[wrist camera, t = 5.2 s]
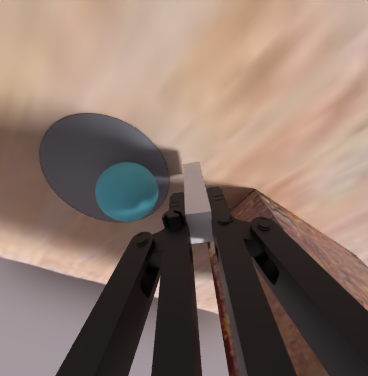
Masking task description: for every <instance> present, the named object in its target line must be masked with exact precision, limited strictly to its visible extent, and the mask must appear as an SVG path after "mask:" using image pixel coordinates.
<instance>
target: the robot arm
mask: <svg viewBox="0 0 368 376" xmlns="http://www.w3.org/2000/svg"><path fill="white" fill-rule="evenodd" d="M183 175H184V192H181V193H174V194H172V196H171V197H170V204H169V211H167V212H165V214H164V215H163V216H162V221H163V224H164V227H165V228H164V229H163V230H162V231H160V232H158V233H155V234H153V235H152V234H151V233H149V232H141V233H138V234H137V235H135V236H134V237H133V238H132V240H131V241H130V243H129V245H128V247H127V249H126V250H125V252H124V254H123V256H122V258H121V259H120V261H119V263H118V265H117V267H116V268H115V270H114V272H113V274H112V275H111V277H110V279H109V281H108V283H107V284H106V286H105V288H104V290H103V292H102V293H101V295H100V297H99V299H98V301H97V302H96V304H95V306H94V308H93V309H92V311H91V313H90V315H89V317H88V319H87V320H86V322H85V324H84V326H83V328H82V329H81V331H80V333H79V335H78V337H77V338H76V340H75V342H74V344H73V345H72V347H71V349H70V351H69V353H68V354H67V356H66V358H65V360H64V361H63V363H62V365H61V367H60V369H59V370H58V372H57V374H56V376H128V374H129V371H130V368H131V365H132V362H133V359H134V356H135V352H136V350H137V347H138V344H139V340H140V337H141V334H142V331H143V328H144V325H145V321H146V319H147V315H148V312H149V309H150V306H151V303H152V300H153V297H154V294H155V291H156V288H157V284H158V281H159V278H160V287H159V298H158V309H157V320H156V331H155V341H154V352H153V364H152V374H151V376H202V369H201V356H200V342H199V330H198V317H197V304H196V291H195V279H194V266H193V253H192V247H191V244H195V243H204V242H212V241H214V245H215V256H216V257H217V262H218V267H219V272H220V277H221V282H222V287H223V291H224V296H225V301H226V306H227V311H228V316H229V321H230V326H231V331H232V336H233V340H234V345H235V350H236V355H237V360H238V365H239V370H240V375H241V376H297V374H296V372H295V369H294V366H293V364H292V361H291V359H290V356H289V354H288V351H287V349H286V346H285V344H284V341H283V339H282V336H281V333H280V331H279V328H278V326H277V323H276V321H275V318H274V316H273V313H272V311H271V308H270V306H269V303H268V300H267V298H266V295H265V293H264V290H263V288H262V285H261V283H260V280H259V278H258V275H257V273H256V270H255V268H254V265H255V267H256V268H257V270H258V271H259V273H260V274H261V276H262V277H263V279H264V280H265V282H266V283H267V284H268V286H269V287H270V289H271V290H272V292H273V293H274V295H275V296H276V298H277V299H278V301H279V302H280V304H281V305H282V307H283V308H284V310H285V311H286V313H287V314H288V316H289V317H290V318H291V320H292V321H293V323H294V324H295V326H296V327H297V329H298V330H299V332H300V333H301V335H302V336H303V338H304V339H305V341H306V342H307V344H308V345H309V347H310V348H311V350H312V351H313V352H314V354H315V355H316V357H317V358H318V360H319V361H320V363H321V364H322V366H323V367H324V369H325V370H326V372H327V373H328V375H329V376H368V311H367V310H366V309H365V308H364V307H363V306H362V305H361V304H360V303H359V302H358V301H357V300H356V299H355V298H354V297H353V296H352V295H351V294H350V293H349V292H348V291H347V290H345V289H344V288H343V287H342V286H341V285H340V284H339V283H338V282H337V281H336V280H335V279H334V278H333V277H332V276H331V275H330V274H329V273H328V272H327V271H326V270H325V269H324V268H322V267H321V266H320V265H319V264H318V263H317V262H316V261H315V260H314V259H313V258H312V257H311V256H310V255H309V254H308V253H307V252H306V251H305V250H304V249H303V248H302V247H301V246H300V245H298V244H297V243H296V242H295V241H294V240H293V239H292V238H291V237H290V236H289V235H288V234H287V233H286V232H285V231H284V230H283V229H282V228H281V227H280V226H279V225H278V224H277V223H275V222H274V221H273V220H272V219H270V218H267V217H256V218H254V219H252V221H251V222H248V221H241V220H238V219H236V218H234V216H232V215H231V213H230V210H229V208H228V205H227V202H226V200H225V197H224V195H223V192H222V190H221V189H220V188H218V187H213V188H206V187H205V183H204V179H203V175H202V171H201V166H200V162H194V163H187V164H183ZM253 264H254V265H253ZM160 275H161V277H160Z"/></svg>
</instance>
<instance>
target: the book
mask: <svg viewBox="0 0 368 376" xmlns="http://www.w3.org/2000/svg"><path fill="white" fill-rule="evenodd" d="M230 213H231V215H232V216H234V218H236V219H238V220H241V221H248V222H251V221H252V219H254V218H256V217H267V218H270V219H272V220H273V221H274V222H275V223H277V224H278V225H279V226H280V227H281V228H282V229H283V230H284V231H285V232H286V233H287V234H288V235H289V236H290V237H291V238H292V239H293V240H294V241H295V242H296V243H297V244H298V245H300V246H301V247H302V248H303V249H304V250H305V251H306V252H307V253H308V254H309V255H310V256H311V257H312V258H313V259H314V260H315V261H316V262H317V263H318V264H319V265H320V266H321V267H322V268H324V269H325V270H326V271H327V272H328V273H329V274H330V275H331V276H332V277H333V278H334V279H335V280H336V281H337V282H338V283H339V284H340V285H341V286H342V287H343V288H344V289H345V290H347V291H348V292H349V293H350V294H351V295H352V296H353V297H354V298H355V299H356V300H357V301H358V302H359V303H360V304H361V305H362V306H363V307H364V308H365V309H366V310H367V311H368V267H367V266H366V265H365V264H364V263H363V262H362V261H361V260H360V259H359V258H358V257H357V256H356V255H355V254H353V253H352V252H350V251H349V250H347V249H346V248H344V247H343V246H341V245H340V244H338V243H337V242H335V241H334V240H332V239H331V238H329V237H327V236H326V235H324V234H323V233H321V232H320V231H318V230H317V229H315V228H314V227H312V226H311V225H309V224H308V223H306V222H305V221H303V220H302V219H300V218H299V217H297V216H296V215H294V214H293V213H291V212H290V211H288V210H286V209H285V208H283V207H282V206H280V205H279V204H277V203H276V202H274V201H273V200H271V199H270V198H268V197H267V196H265V195H264V194H262V193H261V192H259V191H258V190H255V191H254V192H252V193H251V194H250V195H249V196H248V197H247V198H246V199H245V200H243V201H242V202H241V203H240V204H239V205H238V206H237V207H236V208H235V209H233V210H232V211H231V212H230ZM207 243H208V249H209V255H210V261H211V268H212V274H213V280H214V286H215V292H216V298H217V304H218V310H219V317H220V323H221V329H222V335H223V341H224V347H225V353H226V359H227V365H228V371H229V376H241V375H240V370H239V365H238V360H237V355H236V350H235V345H234V340H233V336H232V331H231V326H230V321H229V316H228V311H227V306H226V301H225V296H224V291H223V287H222V282H221V277H220V272H219V267H218V262H217V257H216V256H215V245H214V241H212V242H207ZM253 265H254V264H253ZM254 268H255V270H256V273H257V275H258V278H259V280H260V283H261V285H262V288H263V290H264V293H265V295H266V298H267V300H268V303H269V306H270V308H271V311H272V313H273V316H274V318H275V321H276V323H277V326H278V328H279V331H280V333H281V336H282V339H283V341H284V344H285V346H286V349H287V351H288V354H289V356H290V359H291V361H292V364H293V366H294V369H295V372H296V374H297V376H329V375H328V373H327V372H326V370H325V369H324V367H323V366H322V364H321V363H320V361H319V360H318V358H317V357H316V355H315V354H314V352H313V351H312V350H311V348H310V347H309V345H308V344H307V342H306V341H305V339H304V338H303V336H302V335H301V333H300V332H299V330H298V329H297V327H296V326H295V324H294V323H293V321H292V320H291V318H290V317H289V316H288V314H287V313H286V311H285V310H284V308H283V307H282V305H281V304H280V302H279V301H278V299H277V298H276V296H275V295H274V293H273V292H272V290H271V289H270V287H269V286H268V284H267V283H266V282H265V280H264V279H263V277H262V276H261V274H260V273H259V271H258V270H257V268H256V267H255V265H254Z"/></svg>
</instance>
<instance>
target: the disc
mask: <svg viewBox="0 0 368 376" xmlns="http://www.w3.org/2000/svg"><path fill="white" fill-rule="evenodd" d="M122 162H132V163H136V164H139V165H142V166H143V167H145V168H146V169H148V170H149V171H150V172H151V173H152V174H153V176H154V177H155V179H156V182H157V185H158V198H157V202H156V204H155V206H154V208H153V209H152V210H151V211H150V212H149V213H148V214H147V215H146V216H144V217H143V218H145V217H147V216H149V215H150V214H152V213H153V212H155V211H156V210H157V209H158V208H159V207H160V206H161V204H162V203H163V202H164V200H165V198H166V195H167V192H168V187H169V174H168V169H167V166H166V163H165V161H164V158H163V156H162V155H161V153H160V151H159V150H158V148H157V147H156V146H155V145H154V143H153V142H152V141H151V140H150V139H149V138H148V137H147V136H146V135H145V134H143V133H142V132H141V131H139V130H138V129H137V128H135V127H133V126H132V125H130V124H128V123H126V122H124V121H122V120H119V119H117V118H113V117H110V116H106V115H101V114H77V115H74V116H70V117H67V118H65V119H62V120H60V121H58V122H57V123H56V124H54V125H53V126H52V127H51V128H50V129H49V130H48V131H47V132H46V134H45V136H44V137H43V140H42V142H41V145H40V164H41V168H42V171H43V174H44V176H45V178H46V180H47V182H48V183H49V185H50V186H51V188H52V189H53V190H54V191H55V192H56V194H57V195H58V196H59V197H60V198H61V199H62V200H64V201H65V202H66V203H67V204H69V205H70V206H72V207H73V208H75V209H76V210H78V211H80V212H82V213H84V214H86V215H88V216H91V217H93V218H96V219H100V220H104V221H109V222H124V221H118V220H115V219H113V218H111V217H109V216H108V215H106V214H105V213H104V212H103V211H102V210H101V208H100V207H99V205H98V203H97V200H96V195H95V189H96V184H97V181H98V179H99V177H100V176H101V175H102V173H103V172H104V171H105V170H106V169H108V168H109V167H111V166H113V165H115V164H118V163H122ZM141 219H142V218H141ZM138 220H139V219H138ZM135 221H136V220H135ZM129 222H130V221H129Z"/></svg>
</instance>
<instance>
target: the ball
mask: <svg viewBox="0 0 368 376" xmlns="http://www.w3.org/2000/svg"><path fill="white" fill-rule="evenodd" d="M95 195H96V200H97V203H98V205H99V207H100V208H101V210H102V211H103V212H104V213H105V214H106V215H108V216H109V217H111V218H113V219H115V220H118V221H124V222H129V221H135V220H138V219H141V218H143V217H144V216H146V215H147V214H148V213H149V212H150V211H151V210H152V209H153V208H154V206H155V204H156V202H157V198H158V185H157V182H156V179H155V177H154V176H153V174H152V173H151V172H150V171H149V170H148V169H146V168H145V167H143V166H142V165H139V164H136V163H132V162H122V163H118V164H115V165H113V166H111V167H109V168H108V169H106V170H105V171H104V172H103V173H102V175H101V176H100V177H99V179H98V181H97V184H96V189H95Z"/></svg>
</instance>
